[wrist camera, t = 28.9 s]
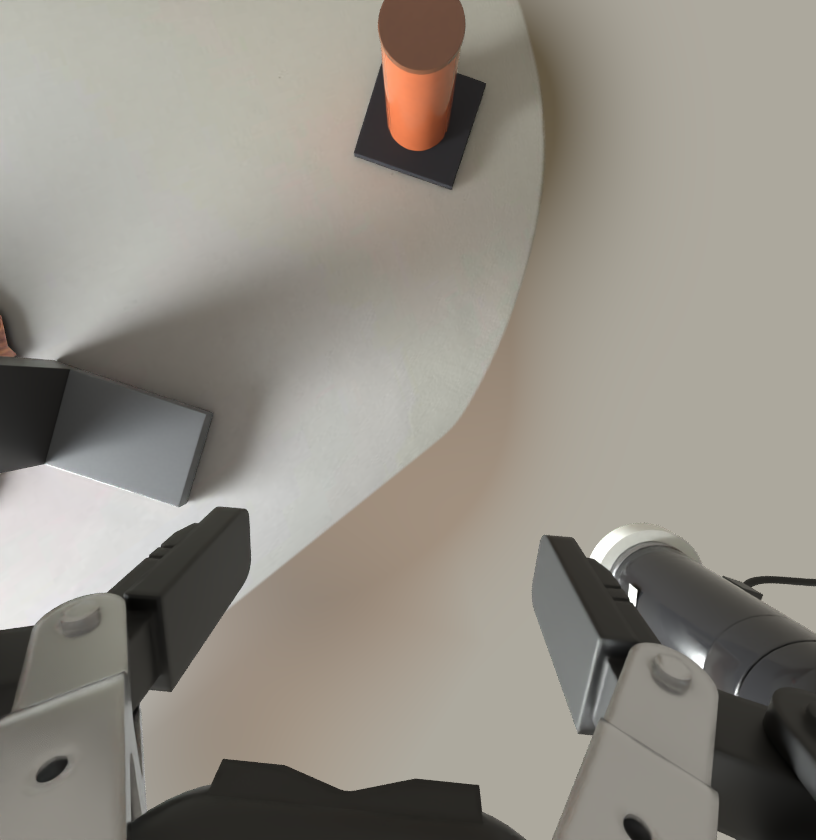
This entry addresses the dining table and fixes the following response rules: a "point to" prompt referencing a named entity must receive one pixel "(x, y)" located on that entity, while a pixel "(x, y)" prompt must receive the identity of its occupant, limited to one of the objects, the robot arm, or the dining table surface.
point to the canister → (420, 67)
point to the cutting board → (4, 343)
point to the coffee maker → (98, 429)
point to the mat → (432, 162)
